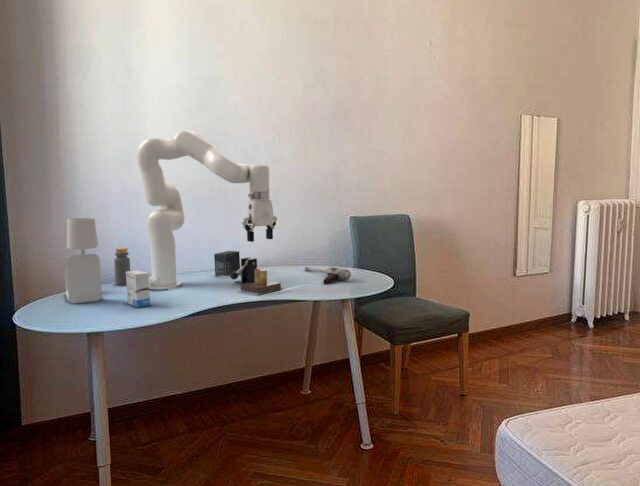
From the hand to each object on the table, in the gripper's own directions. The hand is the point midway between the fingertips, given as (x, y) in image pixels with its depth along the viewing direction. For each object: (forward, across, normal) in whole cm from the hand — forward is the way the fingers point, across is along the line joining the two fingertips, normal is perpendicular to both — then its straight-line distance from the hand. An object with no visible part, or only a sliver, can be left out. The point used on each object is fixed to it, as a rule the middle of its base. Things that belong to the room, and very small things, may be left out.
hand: (260, 240), depth 206 cm
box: (+20, +12, +36) cm, 43 cm away
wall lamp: (+20, -50, +41) cm, 68 cm away
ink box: (+20, -42, +17) cm, 50 cm away
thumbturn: (+17, 0, 0) cm, 17 cm away
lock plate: (+20, 0, 0) cm, 20 cm away
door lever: (+15, +3, +14) cm, 21 cm away
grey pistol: (+20, +35, +1) cm, 41 cm away
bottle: (+20, -28, +54) cm, 64 cm away
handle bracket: (+20, +6, +14) cm, 25 cm away
